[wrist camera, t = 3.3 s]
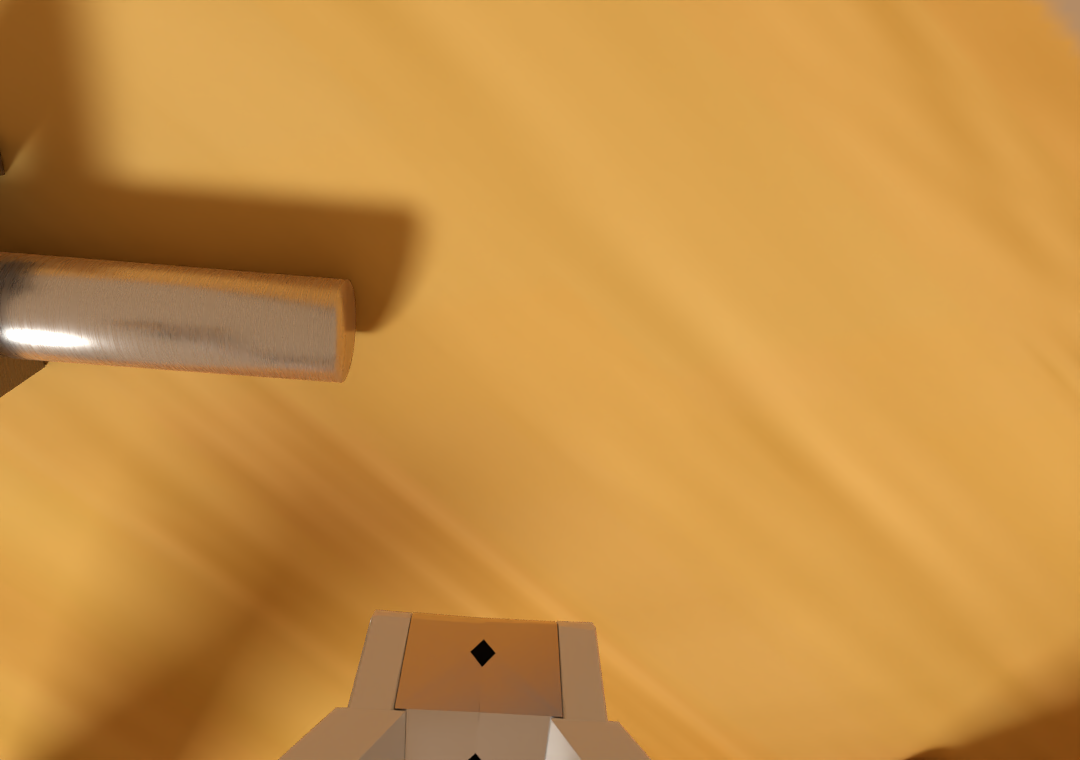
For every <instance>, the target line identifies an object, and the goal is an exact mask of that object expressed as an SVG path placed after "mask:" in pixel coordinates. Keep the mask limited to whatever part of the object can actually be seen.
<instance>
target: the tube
mask: <svg viewBox="0 0 1080 760" xmlns="http://www.w3.org/2000/svg"><path fill="white" fill-rule="evenodd" d="M355 329H356V306H355V296H354V290H353V286H352V284H351V282H350V281H349V280H347V279H335V278H323V277H310V276H298V275H285V274H273V273H260V272H248V271H236V270H223V269H211V268H198V267H186V266H173V265H161V264H149V263H136V262H124V261H111V260H99V259H86V258H74V257H61V256H49V255H37V254H24V253H12V252H0V358H13V359H26V360H40V361H54V362H67V363H81V364H95V365H108V366H122V367H135V368H149V369H163V370H176V371H190V372H204V373H217V374H231V375H245V376H258V377H272V378H286V379H299V380H313V381H327V382H340V383H341V382H343V381H344V380H345V379H346V377H347V375H348V372H349V369H350V365H351V361H352V356H353V350H354V342H355Z"/></svg>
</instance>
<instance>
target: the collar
mask: <svg viewBox="0 0 1080 760" xmlns="http://www.w3.org/2000/svg"><path fill="white" fill-rule="evenodd" d="M4 174H5V173H4V169H3V164H2V159H1V154H0V176H1V175H4ZM44 367H45V363H44V361H40V360H26V359H13V358H0V397H2V396H3V395H4V394H6V393H7V392H9V391H10V390H12V389H13V388H15V387H16V386H18V385H19V384H21V383H22V382H23V381H25V380H26V379H28V378H29V377H31V376H32V375H34V374H35V373H37V372H38V371H40V370H41V369H42V368H44Z"/></svg>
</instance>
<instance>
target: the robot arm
mask: <svg viewBox="0 0 1080 760" xmlns="http://www.w3.org/2000/svg"><path fill="white" fill-rule="evenodd" d="M278 760H651V759H650V758H649V756H648V755H647V754H646V753H645V752H644V751H643V749H642V748H641V747H640V746H639V745H638V744H637V742H636V741H635V740H634V739H633V738H632V737H631V735H630V734H629V733H628V732H627V731H626V730H625V729H624V727H623V726H622V725H621V724H620V723H619V722H613V721H608V720H607V712H606V704H605V696H604V689H603V681H602V673H601V665H600V658H599V650H598V642H597V634H596V628H595V626H594V625H593V623H590V622H568V621H557V622H555V621H539V620H519V619H500V618H478V617H467V616H455V615H443V614H431V613H419V612H413V613H408V612H397V611H386V610H375V612H374V614H373V615H372V617H371V620H370V623H369V627H368V631H367V635H366V639H365V643H364V647H363V650H362V654H361V658H360V662H359V666H358V670H357V673H356V677H355V681H354V685H353V689H352V693H351V697H350V700H349V704H348V708H339V707H336V708H335V709H334V710H333V711H331V712H330V713H329V714H328V715H327V716H326V717H325V718H324V719H323V720H321V721H320V722H319V723H318V724H317V725H316V726H315V727H314V728H313V729H311V730H310V731H309V732H308V733H307V734H306V735H305V736H304V737H303V738H301V739H300V740H299V741H298V742H297V743H296V744H295V745H294V746H293V747H291V748H290V749H289V750H288V751H287V752H286V753H285V754H284V755H283V756H282V757H280V758H279V759H278Z"/></svg>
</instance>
